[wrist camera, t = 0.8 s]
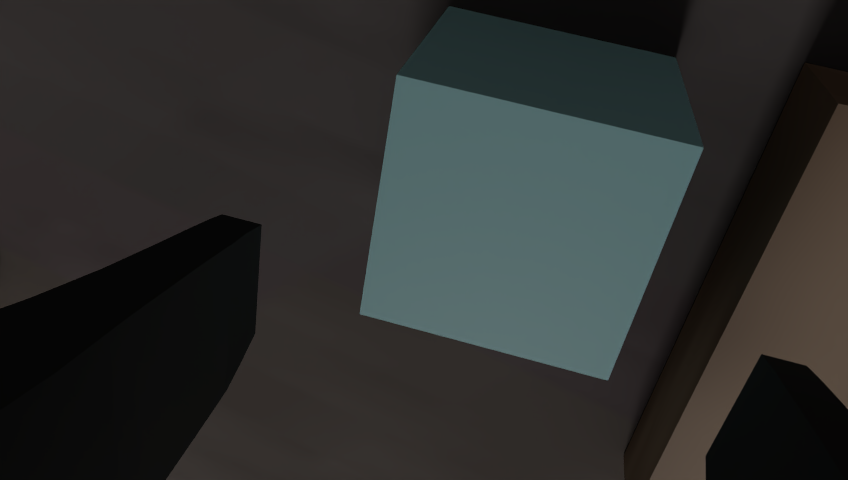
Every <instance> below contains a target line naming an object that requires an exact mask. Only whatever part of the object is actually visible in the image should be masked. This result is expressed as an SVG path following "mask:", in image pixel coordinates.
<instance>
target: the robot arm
mask: <svg viewBox="0 0 848 480" xmlns="http://www.w3.org/2000/svg"><path fill="white" fill-rule="evenodd" d="M260 241H261V224H257V223H253V222H250V221H246V220H242V219H238V218H234V217H230V216H226V215H223V214H222V215H219V216H217V217H214V218H212V219H209V220H207V221H205V222H202V223H200V224H198V225H196V226H194V227H191V228H189V229H187V230H185V231H183V232H181V233H179V234H176V235H174V236H172V237H170V238H168V239H166V240H164V241H162V242H159V243H157V244H155V245H153V246H151V247H149V248H147V249H144V250H142V251H140V252H138V253H136V254H133V255H131V256H129V257H127V258H125V259H122V260H120V261H118V262H116V263H114V264H111V265H109V266H107V267H105V268H103V269H100V270H98V271H95V272H93V273H90V274H88V275H85V276H83V277H81V278H78V279H76V280H73V281H71V282H68V283H66V284H63V285H61V286H58V287H56V288H53V289H51V290H49V291H46V292H44V293H41V294H39V295H36V296H34V297H31V298H29V299H26V300H23V301H20V302H18V303H15V304H12V305H9V306H6V307H4V308H1V309H0V480H166V478H167V477H168V476H169V474H170V473H171V471H172V470H173V468H174V467H175V465H176V464H177V462H178V461H179V460H180V458H181V457H182V455H183V454H184V452H185V451H186V449H187V448H188V446H189V445H190V443H191V442H192V441H193V439H194V438H195V436H196V435H197V433H198V432H199V430H200V429H201V427H202V426H203V424H204V423H205V421H206V420H207V419H208V417H209V416H210V414H211V413H212V411H213V410H214V408H215V407H216V405H217V404H218V402H219V401H220V399H221V398H222V396H223V395H224V393H225V392H226V390H227V388H228V386H229V384H230V383H231V381H232V379H233V377H234V375H235V373H236V371H237V369H238V367H239V365H240V363H241V361H242V359H243V357H244V355H245V353H246V351H247V349H248V347H249V345H250V343H251V341H252V339H253V337H254V334H255V325H256V309H257V292H258V275H259V258H260ZM705 458H706V480H848V409H847V408H846V407H845V405H844V404H843V403H842V402H841V401H840V400H839V399H838V398H837V397H836V395H835V394H834V393H833V392H832V391H831V390H830V389H829V388H828V387H827V386H826V385H825V384H824V382H823V381H822V380H821V379H820V378H819V377H818V376H817V375H816V374H815V373H814V372H813V371H812V370H811V369H810V368H809V367H807V366H806V365H802V364H798V363H794V362H790V361H786V360H783V359H779V358H775V357H771V356H767V355H763V354H761V356H760V358H759V359H758V361H757V363H756V365H755V367H754V368H753V370H752V372H751V374H750V376H749V378H748V379H747V381H746V383H745V385H744V387H743V389H742V390H741V392H740V394H739V396H738V398H737V399H736V401H735V403H734V405H733V407H732V409H731V410H730V412H729V414H728V416H727V418H726V420H725V421H724V423H723V425H722V427H721V429H720V430H719V432H718V434H717V436H716V438H715V440H714V441H713V443H712V445H711V447H710V449H709V450H708V452H707V454H706V456H705Z"/></svg>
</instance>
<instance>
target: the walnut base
mask: <svg viewBox="0 0 848 480" xmlns="http://www.w3.org/2000/svg"><path fill="white" fill-rule="evenodd" d="M761 354H763V355H767V356H771V357H775V358H779V359H783V360H786V361H790V362H794V363H798V364H802V365H806V366H807V367H809V368H810V369H811V370H812V371H813V372H814V373H815V374H816V375H817V376H818V377H819V378H820V379H821V380H822V381H823V382H824V384H825V385H826V386H827V387H828V388H829V389H830V390H831V391H832V392H833V393H834V394H835V395H836V397H837V398H838V399H839V400H840V401H841V402H842V403H843V404H844V405H845V407H846V408H847V409H848V72H845V71H840V70H836V69H832V68H827V67H823V66H818V65H814V64H809V63H804V66H803V68H802V70H801V72H800V74H799V76H798V79H797V81H796V83H795V85H794V87H793V89H792V92H791V94H790V96H789V98H788V100H787V102H786V105H785V107H784V109H783V111H782V113H781V115H780V118H779V120H778V122H777V124H776V126H775V128H774V131H773V133H772V135H771V137H770V139H769V141H768V144H767V146H766V148H765V150H764V152H763V154H762V157H761V159H760V161H759V163H758V165H757V167H756V170H755V172H754V174H753V176H752V178H751V180H750V183H749V185H748V187H747V189H746V191H745V193H744V196H743V198H742V200H741V202H740V204H739V206H738V209H737V211H736V213H735V215H734V217H733V219H732V222H731V224H730V226H729V228H728V230H727V232H726V235H725V237H724V239H723V241H722V243H721V245H720V248H719V250H718V252H717V254H716V256H715V258H714V261H713V263H712V265H711V267H710V269H709V271H708V274H707V276H706V278H705V280H704V282H703V284H702V287H701V289H700V291H699V293H698V295H697V297H696V300H695V302H694V304H693V306H692V308H691V310H690V313H689V315H688V317H687V319H686V321H685V323H684V326H683V328H682V330H681V332H680V334H679V336H678V339H677V341H676V343H675V345H674V347H673V349H672V352H671V354H670V356H669V358H668V360H667V362H666V365H665V367H664V369H663V371H662V373H661V375H660V378H659V380H658V382H657V384H656V386H655V388H654V391H653V393H652V395H651V397H650V399H649V401H648V404H647V406H646V408H645V410H644V412H643V414H642V417H641V419H640V421H639V423H638V425H637V427H636V430H635V432H634V434H633V436H632V438H631V440H630V443H629V445H628V447H627V449H626V451H625V453H624V477H625V480H706V458H705V456H706V454H707V452H708V450H709V449H710V447H711V445H712V443H713V441H714V440H715V438H716V436H717V434H718V432H719V430H720V429H721V427H722V425H723V423H724V421H725V420H726V418H727V416H728V414H729V412H730V410H731V409H732V407H733V405H734V403H735V401H736V399H737V398H738V396H739V394H740V392H741V390H742V389H743V387H744V385H745V383H746V381H747V379H748V378H749V376H750V374H751V372H752V370H753V368H754V367H755V365H756V363H757V361H758V359H759V358H760V356H761Z"/></svg>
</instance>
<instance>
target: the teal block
mask: <svg viewBox="0 0 848 480" xmlns="http://www.w3.org/2000/svg"><path fill="white" fill-rule="evenodd" d="M703 148H704V147H703V144H702V141H701V137H700V134H699V131H698V128H697V124H696V121H695V118H694V115H693V112H692V108H691V105H690V102H689V99H688V95H687V92H686V89H685V86H684V82H683V79H682V76H681V73H680V70H679V66H678V63H677V60H676V58H675V57H671V56H666V55H662V54H658V53H653V52H649V51H644V50H640V49H636V48H631V47H627V46H622V45H618V44H614V43H609V42H605V41H601V40H596V39H592V38H587V37H583V36H579V35H574V34H570V33H565V32H561V31H557V30H552V29H548V28H544V27H539V26H535V25H530V24H526V23H522V22H517V21H513V20H508V19H504V18H500V17H495V16H491V15H487V14H482V13H478V12H473V11H469V10H465V9H460V8H456V7H451V6H449V7H448V8H447V9H446V11H445V12H444V13H443V15H442V16H441V17H440V19H439V20H438V21H437V23H436V24H435V25H434V27H433V28H432V29H431V30H430V32H429V33H428V34H427V36H426V37H425V38H424V40H423V41H422V42H421V44H420V45H419V46H418V47H417V49H416V50H415V51H414V53H413V54H412V55H411V57H410V58H409V59H408V61H407V62H406V63H405V64H404V66H403V67H402V68H401V70H400V71H399V72H398V74H397V76H396V83H395V89H394V96H393V102H392V108H391V115H390V121H389V128H388V134H387V141H386V147H385V154H384V160H383V167H382V173H381V180H380V186H379V192H378V199H377V205H376V212H375V218H374V225H373V231H372V238H371V244H370V251H369V257H368V264H367V270H366V276H365V283H364V289H363V296H362V302H361V309H360V314H362V315H365V316H369V317H373V318H376V319H380V320H384V321H388V322H391V323H395V324H399V325H403V326H406V327H410V328H414V329H418V330H421V331H425V332H429V333H432V334H436V335H440V336H444V337H447V338H451V339H455V340H459V341H462V342H466V343H470V344H473V345H477V346H481V347H485V348H488V349H492V350H496V351H500V352H503V353H507V354H511V355H514V356H518V357H522V358H526V359H529V360H533V361H537V362H541V363H544V364H548V365H552V366H556V367H559V368H563V369H567V370H570V371H574V372H578V373H582V374H585V375H589V376H593V377H597V378H600V379H604V380H608V379H609V376H610V374H611V372H612V369H613V367H614V364H615V362H616V359H617V357H618V355H619V352H620V350H621V347H622V345H623V342H624V340H625V338H626V335H627V333H628V330H629V328H630V325H631V323H632V321H633V318H634V316H635V313H636V311H637V308H638V306H639V304H640V301H641V299H642V296H643V294H644V291H645V289H646V287H647V284H648V282H649V279H650V277H651V274H652V272H653V270H654V267H655V265H656V262H657V260H658V257H659V255H660V253H661V250H662V248H663V245H664V243H665V240H666V238H667V236H668V233H669V231H670V228H671V226H672V223H673V221H674V219H675V216H676V214H677V211H678V209H679V206H680V204H681V202H682V199H683V197H684V194H685V192H686V189H687V187H688V185H689V182H690V180H691V177H692V175H693V172H694V170H695V168H696V165H697V163H698V160H699V158H700V155H701V153H702V151H703Z"/></svg>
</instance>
